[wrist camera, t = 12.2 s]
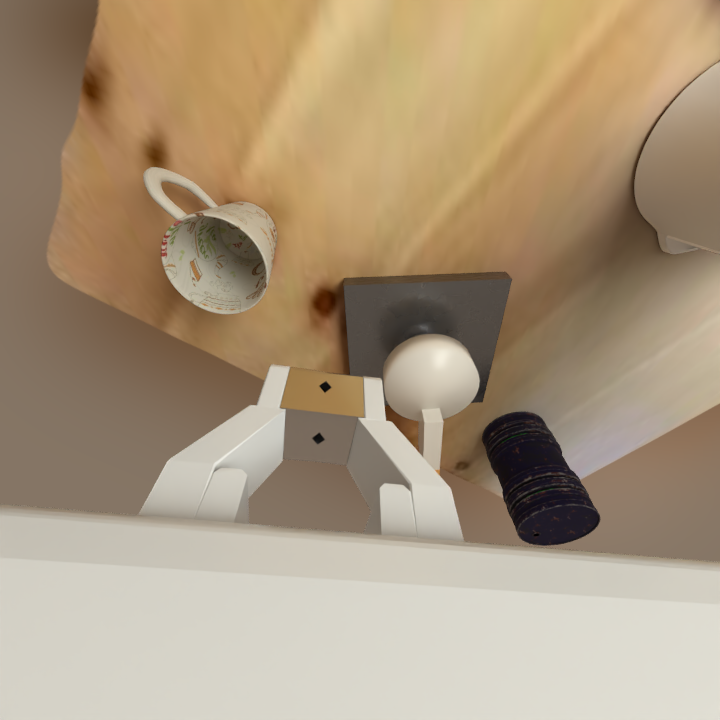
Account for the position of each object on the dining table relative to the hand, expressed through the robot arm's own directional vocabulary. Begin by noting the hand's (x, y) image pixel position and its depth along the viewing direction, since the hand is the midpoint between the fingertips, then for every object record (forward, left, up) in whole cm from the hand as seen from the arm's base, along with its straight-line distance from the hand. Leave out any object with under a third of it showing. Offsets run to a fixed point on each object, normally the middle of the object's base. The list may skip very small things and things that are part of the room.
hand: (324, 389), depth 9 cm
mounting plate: (-8, +18, -29) cm, 35 cm away
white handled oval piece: (-8, +22, -23) cm, 33 cm away
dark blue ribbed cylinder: (-24, +36, -29) cm, 52 cm away
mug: (+12, +2, -29) cm, 32 cm away
